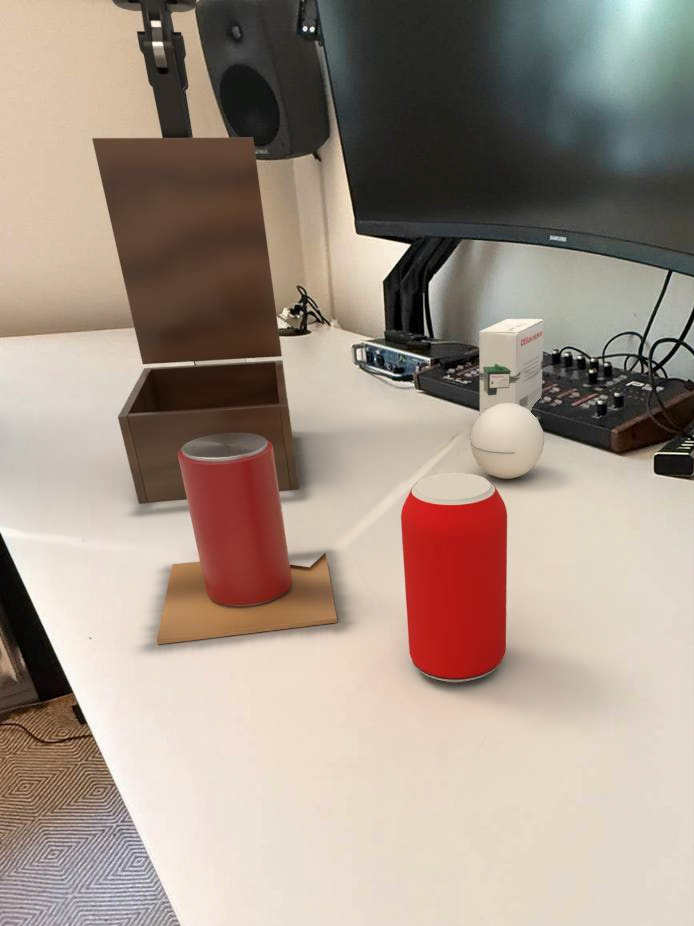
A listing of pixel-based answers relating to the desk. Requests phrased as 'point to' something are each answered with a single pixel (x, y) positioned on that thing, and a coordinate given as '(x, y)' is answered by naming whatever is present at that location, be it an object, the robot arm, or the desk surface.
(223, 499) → the can
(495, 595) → the beverage can
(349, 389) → the desk surface
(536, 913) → the desk surface
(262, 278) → the lid
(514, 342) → the ink box
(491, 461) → the white ball
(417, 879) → the desk surface
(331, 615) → the mat
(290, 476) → the chest
